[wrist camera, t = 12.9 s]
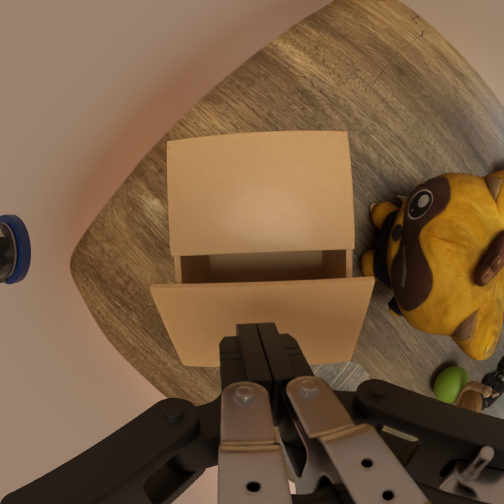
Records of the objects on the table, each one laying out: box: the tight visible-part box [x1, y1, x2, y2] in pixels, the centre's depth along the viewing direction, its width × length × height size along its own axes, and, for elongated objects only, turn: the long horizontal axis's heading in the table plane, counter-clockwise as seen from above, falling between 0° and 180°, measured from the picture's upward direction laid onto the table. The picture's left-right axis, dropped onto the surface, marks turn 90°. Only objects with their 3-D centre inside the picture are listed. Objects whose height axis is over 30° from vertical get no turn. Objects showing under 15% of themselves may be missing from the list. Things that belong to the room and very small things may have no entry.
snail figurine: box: [434, 366, 499, 413], centre depth 25 cm, size 5×6×12 cm
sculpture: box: [310, 361, 371, 391], centre depth 32 cm, size 12×9×8 cm
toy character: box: [361, 170, 504, 360], centre depth 21 cm, size 17×15×18 cm
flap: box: [150, 276, 375, 367], centre depth 18 cm, size 8×13×1 cm
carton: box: [167, 131, 355, 284], centre depth 25 cm, size 17×13×11 cm
